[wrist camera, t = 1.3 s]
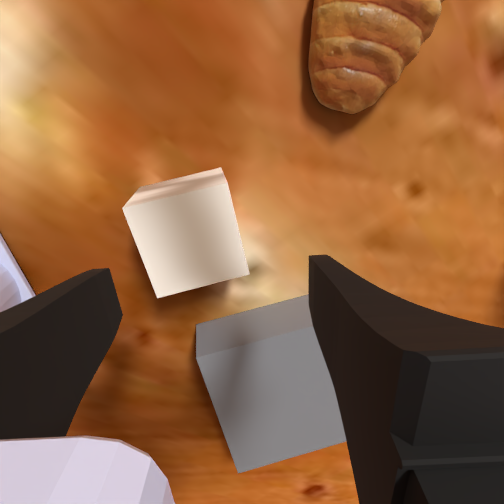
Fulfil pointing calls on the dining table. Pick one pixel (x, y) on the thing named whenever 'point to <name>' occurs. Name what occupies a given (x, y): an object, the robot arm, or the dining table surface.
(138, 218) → the cream block
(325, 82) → the pastry
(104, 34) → the dining table surface
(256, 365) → the gray panel
